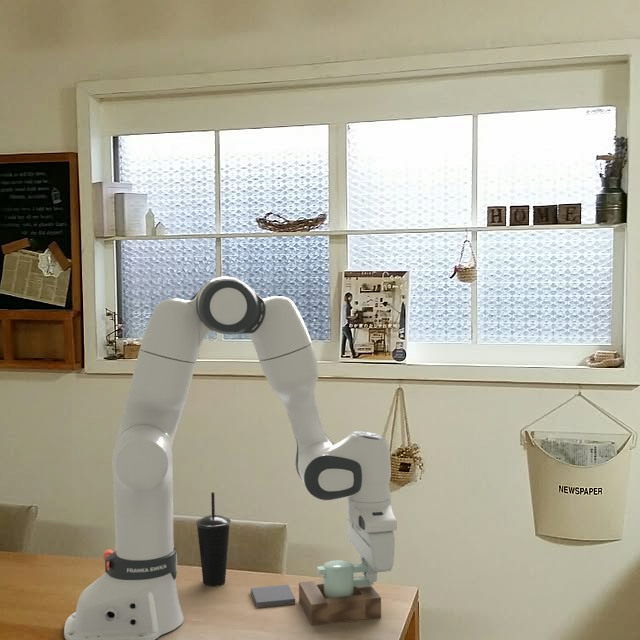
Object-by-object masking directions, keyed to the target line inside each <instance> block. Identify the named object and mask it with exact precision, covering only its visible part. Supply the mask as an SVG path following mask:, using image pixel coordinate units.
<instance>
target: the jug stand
mask: <svg viewBox="0 0 640 640" xmlns="http://www.w3.org/2000/svg"><path fill="white" fill-rule="evenodd" d="M359 577H365V576H364V575H362V576H361V575H360V576H353V578H359ZM298 592H299V593H298V601H299V603H300V606H301V607H302V609H303V612H304V613H305V616H306V617H307V619H308V621H309V623H310V624H311V626H312V625H313V626H314V625H320V624H321V625H323V624H331V623H332V624H333V623H343V622H351V621H360V620H369V619H377V618H378V619H380V618H382V597H381V595H380V594H379V593H378V592H377V591H376V589H375V588H374V587H373V585H364V586H354V596H346V597H336V598H326V599H325V598H324V579H318V580H309V581H306V580H305V581H298Z"/></svg>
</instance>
